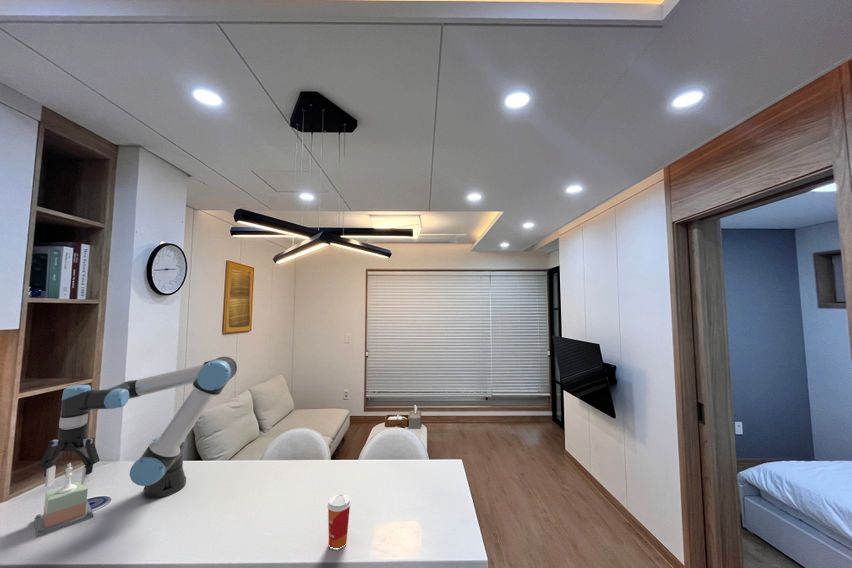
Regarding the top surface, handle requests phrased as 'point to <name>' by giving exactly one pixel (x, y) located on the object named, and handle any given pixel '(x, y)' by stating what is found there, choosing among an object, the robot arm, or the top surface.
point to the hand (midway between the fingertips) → (67, 483)
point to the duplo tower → (63, 509)
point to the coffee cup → (338, 520)
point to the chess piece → (67, 481)
